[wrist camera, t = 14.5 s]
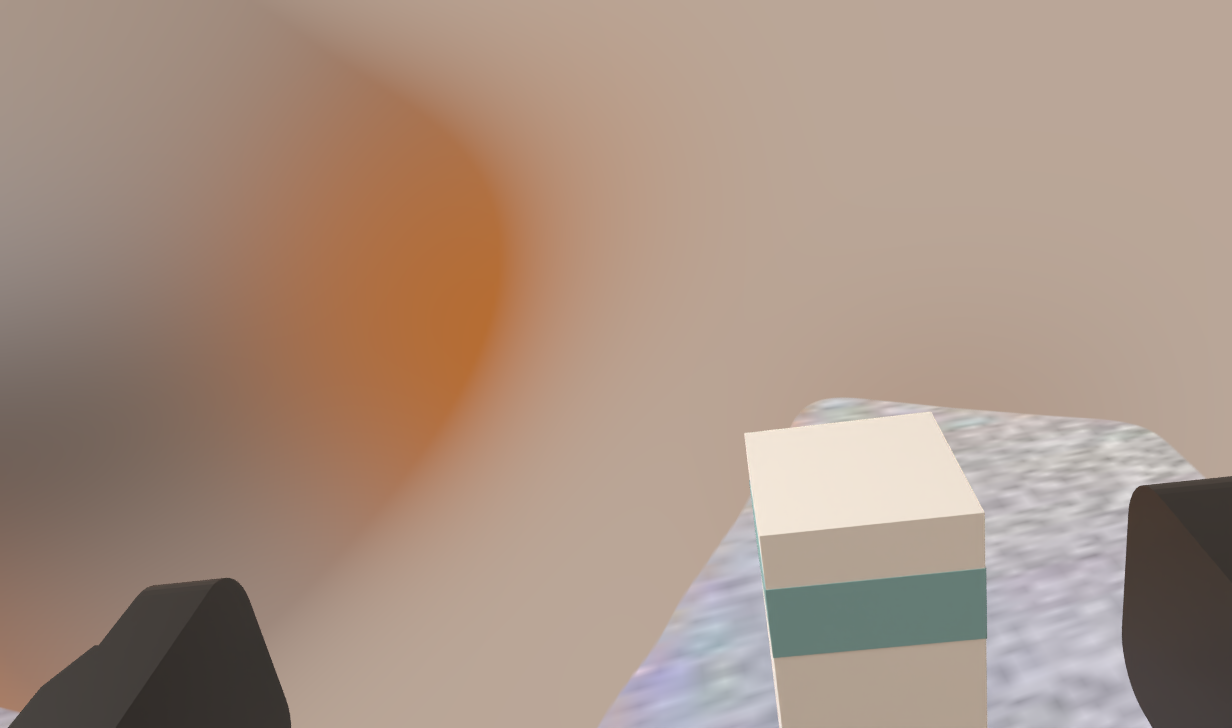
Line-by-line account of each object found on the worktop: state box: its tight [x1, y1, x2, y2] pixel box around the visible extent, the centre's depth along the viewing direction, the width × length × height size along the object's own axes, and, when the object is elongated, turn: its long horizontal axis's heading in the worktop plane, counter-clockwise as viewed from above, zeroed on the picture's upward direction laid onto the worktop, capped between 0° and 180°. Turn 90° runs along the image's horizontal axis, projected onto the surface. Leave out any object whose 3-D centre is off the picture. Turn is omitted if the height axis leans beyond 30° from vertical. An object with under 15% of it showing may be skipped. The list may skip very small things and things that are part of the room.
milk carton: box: [744, 412, 987, 728], centre depth 33 cm, size 6×6×16 cm
